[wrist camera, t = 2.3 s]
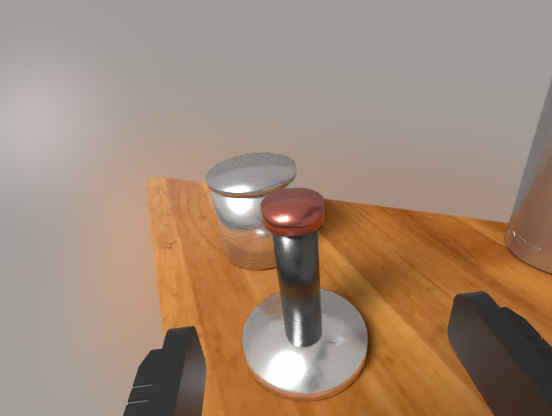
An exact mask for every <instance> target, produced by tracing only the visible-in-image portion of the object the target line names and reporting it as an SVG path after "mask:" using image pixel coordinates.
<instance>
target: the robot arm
mask: <svg viewBox="0 0 552 416" xmlns="http://www.w3.org/2000/svg"><path fill="white" fill-rule="evenodd" d="M505 243H506V245H507V247H508V248H509V250H510V251H511V252H512V253H513V254H514V255H516V256H517V257H518V258H519V259H521V260H522V261H524V262H526V263H528V264H529V265H531V266H533V267H536V268H538V269H540V270H542V271H545V272H548V273H552V77H551V80H550V84H549V87H548V90H547V94H546V97H545V100H544V105H543V108H542V111H541V115H540V118H539V121H538V125H537V129H536V132H535V135H534V138H533V142H532V145H531V149H530V152H529V155H528V159H527V162H526V166H525V169H524V173H523V176H522V180H521V183H520V186H519V190H518V193H517V197H516V200H515V203H514V207H513V210H512V214H511V217H510V221H509V224H508V228H507V231H506V234H505ZM448 337H449V341H450V344H451V346H452V348H453V350H454V352H455V353H456V355H457V357H458V358H459V360H460V361H461V363H462V365H463V366H464V368H465V369H466V371H467V373H468V374H469V376H470V377H471V379H472V381H473V382H474V384H475V385H476V387H477V389H478V390H479V392H480V393H481V395H482V397H483V398H484V400H485V401H486V403H487V405H488V406H489V408H490V409H491V411H492V413H493V414H494V416H552V347H551V346H550V345H549V344H548V343H547V342H546V341H545V340H544V339H542V338H541V335H540V334H539V333H538V332H537V331H536V330H535V329H534V328H533V327H532V326H531V325H530V324H529V322H528V321H527V320H526V319H524V318H523V317H521V316H520V315H518V314H516V313H515V312H513V311H512V310H510V309H509V308H507V307H502V308H500V307H499V306H498V305H497V304H496V302H495V301H494V300H493V299H492V298H491V297H490V296H489V295H488V294H487V293H486V292H483V291H480V292H472V293H464V294H457V295H456V296H455V298H454V302H453V306H452V311H451V315H450V320H449V325H448ZM205 381H206V363H205V358H204V354H203V351H202V348H201V345H200V341H199V338H198V335H197V332H196V329H195V327H194V326H190V327H182V328H174V329H169V330H168V331H167V333H166V336H165V340H164V344H163V348H162V349H156V350H151V351H150V352H149V354H148V355H147V357H146V358H145V359H144V361H143V362H142V363H141V365H140V366H139V368H138V371H137V374H136V378H135V381H134V384H133V389H132V390H131V393H130V396H129V399H128V405H127V406H126V409H125V412H124V415H123V416H201V414H202V406H203V397H204V389H205Z"/></svg>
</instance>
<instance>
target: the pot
mask: <svg viewBox="0 0 552 416" xmlns="http://www.w3.org/2000/svg"><path fill="white" fill-rule="evenodd" d="M296 173H297V172H296V164H295V162H294V161H293V160H292V159H291V158H289V157H287V156H284V155H280V154H274V153H253V154H246V155H240V156H237V157H233V158H230V159H227V160H224V161H222V162H220V163H218V164H216V165H215V166H213V167H212V168H211V169H210V170H209V171H208V172H207V175H206V180H207V185H208V187H209V189H210V190H211V193H212V198H213V202H214V207H215V211H216V216H217V220H218V224H219V229H220V233H221V238H222V242H223V246H224V251H225V255H226V257H227V259H228V260H229V261H230V262H231V263H232V264H234V265H235V266H238V267H240V268H244V269H249V270H264V269H270V268H273V267H276V259H275V251H274V244H273V236H272V233H271V232H269V231H268V230H267V229H266V228H265V227H264V225H263V220H262V213H261V202H262V200H263V199H264V198H265V197H266V196H268V195H269V194H271V193H273V192H276V191H279V190H282V189H288V188H296V183H295V177H296Z"/></svg>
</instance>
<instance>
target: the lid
mask: <svg viewBox="0 0 552 416" xmlns="http://www.w3.org/2000/svg"><path fill="white" fill-rule="evenodd" d="M261 213H262V220H263V225H264V227H265V228H266V229H267V230H268V231H269V232H271V233H272V236H273V244H274V251H275V259H276V267H277V274H278V282H279V289H280V292H278V293H275V294H273V295H271V296H270V297H268V298H266V299H265V300H264V301H262V302H261V303H260V304H259V305H258V306H257V307H256V308H255V309H254V310H253V311H252V313H251V314H250V316H249V317H248V319H247V321H246V324H245V326H244V330H243V338H242V341H243V349H244V353H245V358H246V362H247V365H248V367H249V369H250V371H251V373H252V375H253V376H254V377H255V379H256V380H257V381H258V382H259V383H260V384H261V385H262V386H263V387H264V388H266V389H267V390H269V391H270V392H272V393H274V394H276V395H278V396H280V397H283V398H286V399H290V400H295V401H316V400H321V399H325V398H328V397H331V396H334V395H336V394H338V393H340V392H341V391H343V390H344V389H346V388H347V387H348V386H349V385H350V384H352V383H353V382H354V381H355V379H356V378H357V377H358V375H359V374H360V372H361V370H362V369H363V366H364V363H365V361H366V356H367V340H368V336H367V329H366V326H365V322H364V320H363V318H362V316H361V315H360V313H359V312H358V310H357V309H356V308H355V307H354V306H353V305H352V304H351V303H350V302H349V301H347V300H346V299H345V298H343V297H341V296H340V295H338V294H336V293H333V292H331V291H328V290H325V289H320V273H319V253H318V232H317V229H318V228H319V227H320V226H321V225H322V224H323V222H324V219H325V214H324V199H323V197H322V196H321V195H320V194H319V193H318V192H316V191H313V190H310V189H305V188H288V189H282V190H279V191H276V192H273V193H271V194H269V195H268V196H266V197H265V198H264V199H263V200H262V202H261Z"/></svg>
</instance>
